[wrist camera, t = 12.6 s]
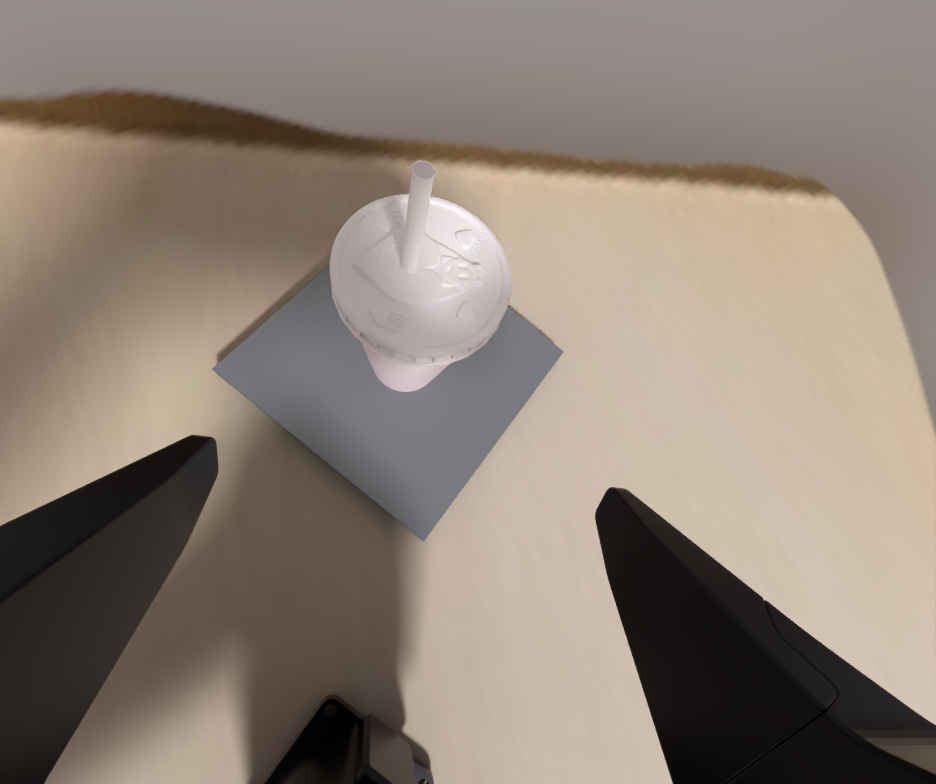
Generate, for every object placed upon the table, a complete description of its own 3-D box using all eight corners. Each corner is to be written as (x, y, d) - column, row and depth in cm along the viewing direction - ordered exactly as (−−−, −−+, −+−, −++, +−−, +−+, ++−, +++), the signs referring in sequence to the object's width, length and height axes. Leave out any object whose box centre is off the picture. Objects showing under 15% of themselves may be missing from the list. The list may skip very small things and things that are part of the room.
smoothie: (349, 305, 23) (315, 44, 10) (459, 313, 24) (558, 95, 11) (343, 415, 21) (294, 280, 8) (461, 416, 23) (580, 304, 10)
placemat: (421, 539, 22) (423, 541, 21) (218, 374, 21) (211, 369, 21) (556, 356, 26) (563, 351, 25) (390, 220, 26) (391, 209, 25)
